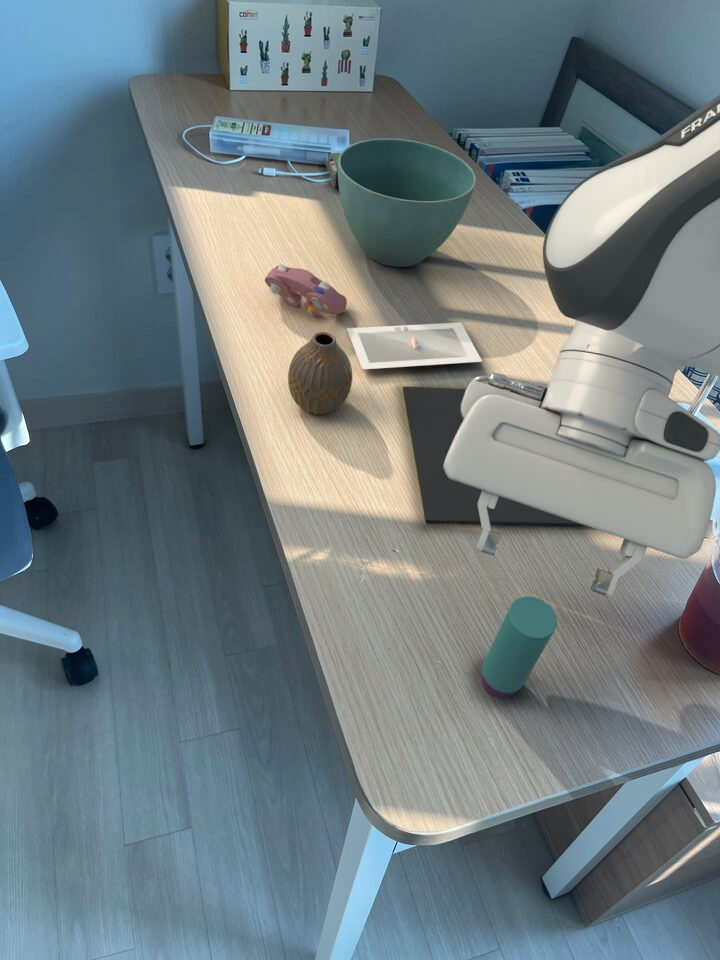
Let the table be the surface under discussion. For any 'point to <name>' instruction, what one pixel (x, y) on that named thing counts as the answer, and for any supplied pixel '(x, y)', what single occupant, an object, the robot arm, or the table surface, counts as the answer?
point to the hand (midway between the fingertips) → (542, 573)
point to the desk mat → (431, 439)
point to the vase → (320, 375)
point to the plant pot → (402, 197)
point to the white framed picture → (412, 345)
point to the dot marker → (517, 646)
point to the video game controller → (305, 290)
